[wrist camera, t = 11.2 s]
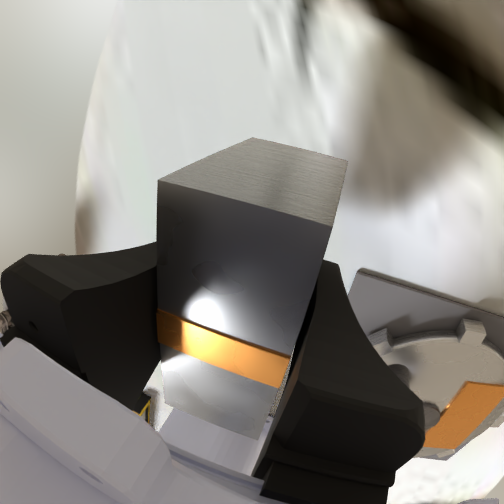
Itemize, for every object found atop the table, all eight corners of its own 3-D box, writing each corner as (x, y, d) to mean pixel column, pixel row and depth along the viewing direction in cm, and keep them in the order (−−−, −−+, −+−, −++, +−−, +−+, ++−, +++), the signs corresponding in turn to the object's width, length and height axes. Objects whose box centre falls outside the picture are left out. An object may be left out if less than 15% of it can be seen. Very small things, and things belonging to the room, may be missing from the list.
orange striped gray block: (227, 308, 15) (163, 404, 10) (252, 137, 11) (155, 180, 6) (298, 331, 15) (257, 441, 10) (348, 161, 11) (333, 228, 5)
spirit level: (148, 468, 51) (141, 479, 49) (142, 465, 51) (135, 475, 49) (152, 395, 33) (139, 413, 31) (142, 389, 34) (129, 407, 31)
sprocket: (369, 465, 26) (363, 499, 23) (273, 371, 23) (255, 414, 20) (527, 412, 17) (534, 449, 14) (495, 272, 14) (519, 316, 11)
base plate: (287, 425, 27) (286, 428, 27) (357, 271, 18) (356, 274, 18) (446, 458, 24) (446, 461, 23) (561, 336, 14) (563, 340, 14)
